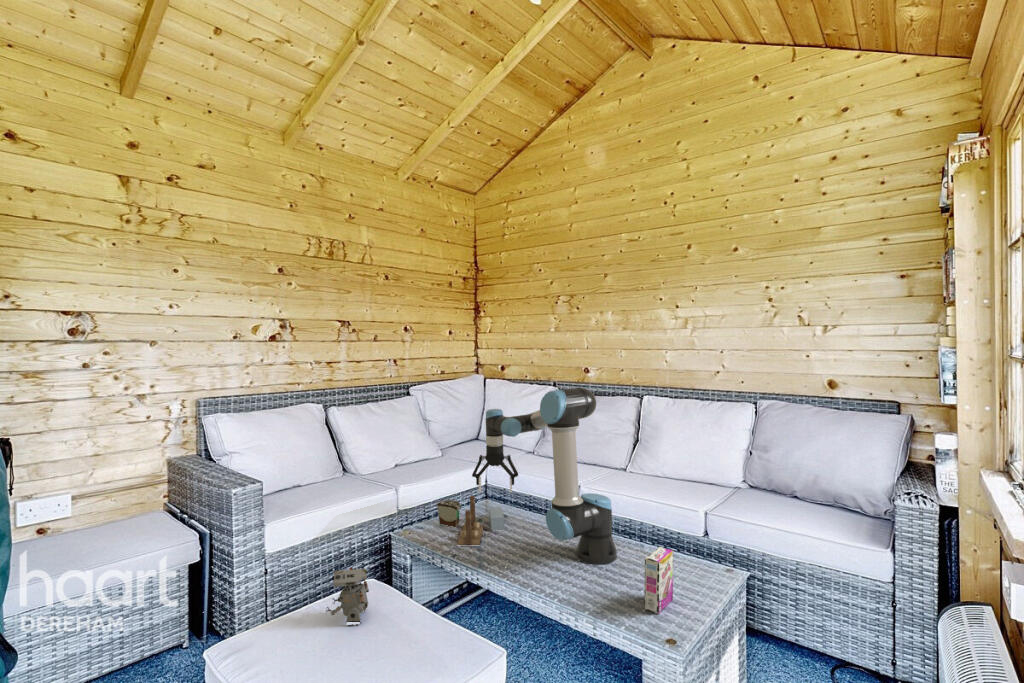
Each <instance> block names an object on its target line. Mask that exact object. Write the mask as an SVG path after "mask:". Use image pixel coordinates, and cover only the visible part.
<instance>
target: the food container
mask: <svg viewBox="0 0 1024 683" xmlns="http://www.w3.org/2000/svg"><path fill="white" fill-rule="evenodd" d="M436 507H437V513H438V514H437V515H438V523H439V524H444V525H448V526H453V527H457V526H458V525H459V524H460V511H461V510H462V506H461V503H460V501H458V500H455V499H444V500H439V501H437V502H436ZM444 525H443V526H444ZM448 526H447V527H448ZM459 526H460V525H459ZM459 526H458V527H459ZM458 527H457V528H458Z"/></svg>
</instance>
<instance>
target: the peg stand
mask: <svg viewBox="0 0 1024 683" xmlns="http://www.w3.org/2000/svg"><path fill="white" fill-rule="evenodd" d="M464 520H465V522H464V524H463V525H462V528H461V530H460V533H459V534H460V535H459V537H458V541H457V544H456V546H457V545H480V546H481V543H480V541H481V542H482V538H481V536H482V537H483V533H482V532H484V528H483V527H485V526H484V524H480V522H479V521H476V496H475V495H470V496H469V510H467V509H466V510H465V519H464Z"/></svg>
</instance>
